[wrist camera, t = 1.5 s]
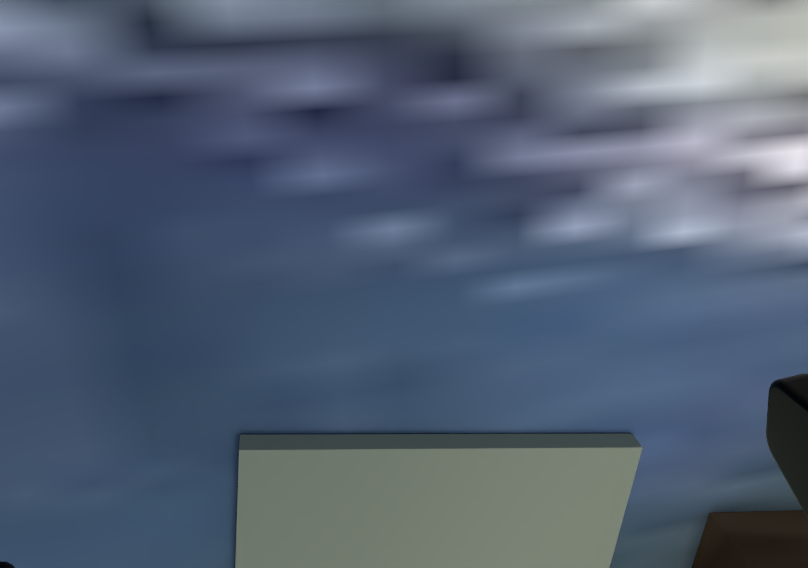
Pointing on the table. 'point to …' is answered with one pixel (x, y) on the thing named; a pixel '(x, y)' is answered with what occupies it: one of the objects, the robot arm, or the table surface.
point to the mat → (432, 500)
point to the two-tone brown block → (754, 540)
